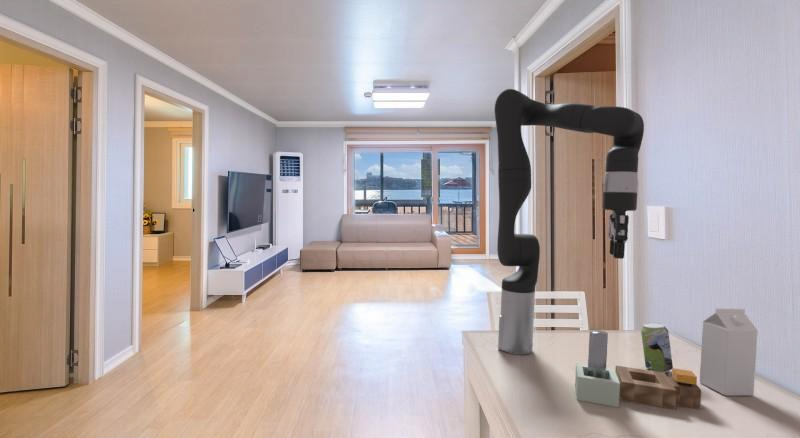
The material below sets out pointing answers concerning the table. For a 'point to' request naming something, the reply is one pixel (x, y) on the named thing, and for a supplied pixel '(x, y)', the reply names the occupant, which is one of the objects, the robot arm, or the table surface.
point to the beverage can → (656, 347)
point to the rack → (597, 387)
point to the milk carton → (728, 352)
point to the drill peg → (597, 354)
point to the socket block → (655, 389)
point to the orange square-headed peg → (684, 377)
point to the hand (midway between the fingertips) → (616, 256)
